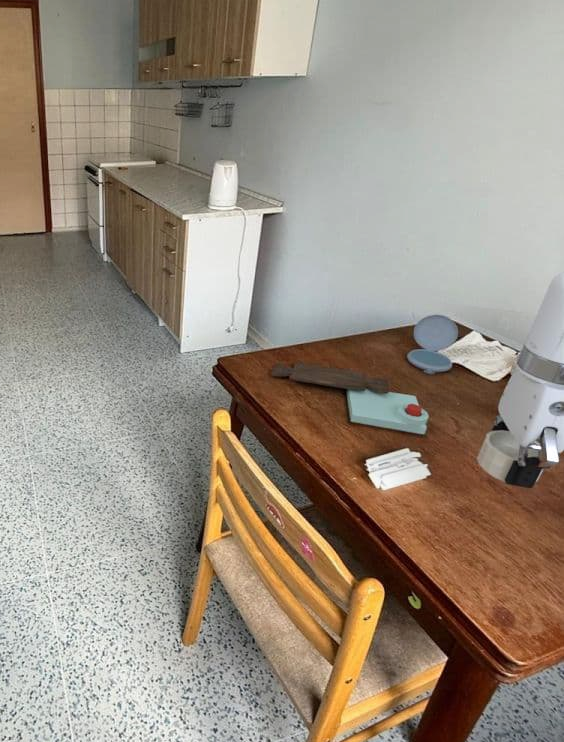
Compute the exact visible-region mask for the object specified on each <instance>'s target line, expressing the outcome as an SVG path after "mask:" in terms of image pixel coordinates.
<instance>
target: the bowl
mask: <svg viewBox="0 0 564 742" xmlns="http://www.w3.org/2000/svg"><path fill="white" fill-rule="evenodd" d="M529 444H535V445H540V442H539V441H537V440H536V441H534V442H533V443H531V442H530V443H529ZM519 448H520V444H519V443H518V442H517V441H516V440H515V438H514V437H513V435H512V434H511V432H510V431H504V430H498V431H492V430H491V431H489V432H488V433H486V435H485V437H484V439H483V442H482V445H481V447H480V449H479V451H478V453H477V457H476V461H477V463H478V465H479V467H480V468H481V469H482V470H483V471H484V472H485V473H486V474H488V475H489V476H491V477H492V478H494V479H496V480H498V481H501V482H503V483H506V482H505V478H506V476H507V474H508V471H509V469H510V467H511V465H512V463H513V461H514V460H516V461H518V455H519ZM538 453H539V450H535V449H529V450H528V457H538ZM543 472H544V470H542V471H541V472H540V474H539V476H538V478H537V480H536V482H535V483H537V482H538V481H539V480H540V477H541V476H542V473H543Z"/></svg>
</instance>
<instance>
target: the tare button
mask: <svg viewBox="0 0 564 742" xmlns="http://www.w3.org/2000/svg"><path fill="white" fill-rule="evenodd" d="M422 409H423V407H422V406H420V405H419V406H418V405H415V404H409V405H408V406H407V409H406V413H407V414H409V415H411V416H415V417H419V416H420V414H421V411H422Z"/></svg>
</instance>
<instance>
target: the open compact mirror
mask: <svg viewBox="0 0 564 742" xmlns="http://www.w3.org/2000/svg"><path fill="white" fill-rule="evenodd" d="M458 335H459V329H458V326H457V323H456V322H455V321H454V320H452V319H451V318H450V317H448V316H446V315H442V314H430V315H427V316H425V317H423V318H420V320H419V321H418V322H417V323H416V324H415V325H414V329H413V338H414V341H415V342H416V344H417V345H419V346H420V347H421V349H420V348H418V349H413V350H411V351H410V352H408V353H407V355H406V358H407V360H408V362H409V363H410V364H411V365H412V366H414V367H416V368H418V369H420V370H423V372H424V373H426V374H429V375H430V374H431V375H435V374H436V373H442V372H443V373H444V372H448V371H449V370H451V369H452V368H453V362H452V361H451V359H450V358H449V357H448V356H446V355H445V354H443V353H442V352H441V353H440V352H439V351H443V350H447V349H448V348H450V347H452V346H453V344H455V342H456V340H457V339H458Z"/></svg>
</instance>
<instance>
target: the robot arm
mask: <svg viewBox="0 0 564 742" xmlns="http://www.w3.org/2000/svg"><path fill="white" fill-rule="evenodd" d="M514 366H515V369H514V370H513V372H512V374H511V376H510V378H509V379H508V382H507V384H506V386H505V388H504V390H502V391H501V393H500V400H499V403H498V406H497V410H498V415H496V417H494V421H493V422H494V424H493V426H492V429H491V431H498V430H504V431H510V432H511V434H512V435H513V437H514V438H515V440H516V441H517V442H518V443H519V444H520V448H519V455H518V461H516V460H514V461H513V463H512V465H511V467H510V469H509V471H508V474H507V476H506V478H505V482H504V483H505V484H507V485H510V486H515V487H521V488H526V489H532V488H533V487H534V486H535V484H536V483H537V482H536V480H537V478H538V476H539V474H540V472H541V471H542V470H543V471H545V470H546V469H550V468H551V467H554V466H557V465H558V464H559V462H560V460H559V454H561V453H563V452H564V271H562V272H559V273H558V274H557V275H555V276H554V277H553V278H552V279H551V282H550V283H549V285H548V287H547V290H546V292H545V294H544V297H543V299H542V301H541V303H540V306H539V309H538V311H537V313H536V316H535V317H534V320H533V323H532V325H531V327H530V330H529V332H528V334H527V336H526V339H525V341H524V344H523V346H522V348H521V351H520V353H519V355H518V358H517V360H516V362H515V365H514ZM534 441H537V442H539V444H540V445H535V444H529V443H530V442H531V443H533V442H534ZM529 449H535V450H539V453H538V457H528V450H529Z"/></svg>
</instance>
